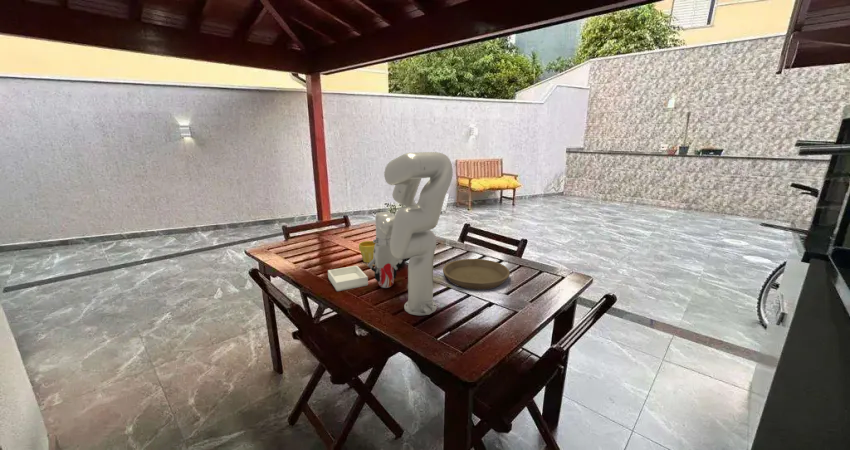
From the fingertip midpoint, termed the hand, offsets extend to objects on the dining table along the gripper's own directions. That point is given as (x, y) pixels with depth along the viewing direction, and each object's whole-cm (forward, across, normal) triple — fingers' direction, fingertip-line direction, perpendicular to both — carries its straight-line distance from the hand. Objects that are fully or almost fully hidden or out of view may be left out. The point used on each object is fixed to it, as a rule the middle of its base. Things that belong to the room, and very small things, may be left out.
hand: (385, 278), depth 156 cm
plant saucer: (+4, +41, -11) cm, 43 cm away
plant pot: (+3, +4, +34) cm, 34 cm away
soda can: (+3, 0, 0) cm, 3 cm away
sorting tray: (+3, -14, +12) cm, 19 cm away
